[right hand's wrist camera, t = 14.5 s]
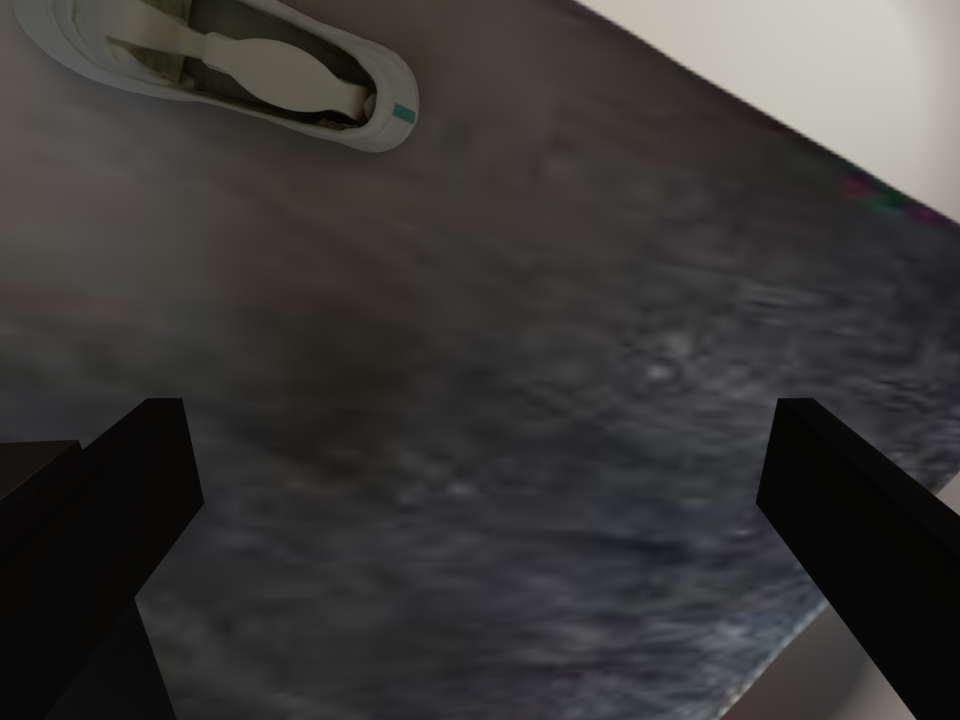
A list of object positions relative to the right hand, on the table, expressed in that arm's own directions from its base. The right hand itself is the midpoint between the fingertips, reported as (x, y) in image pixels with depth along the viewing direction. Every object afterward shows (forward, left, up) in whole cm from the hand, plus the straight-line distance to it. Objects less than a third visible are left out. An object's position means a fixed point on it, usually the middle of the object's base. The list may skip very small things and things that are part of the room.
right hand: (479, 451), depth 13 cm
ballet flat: (-7, -18, -29) cm, 35 cm away
